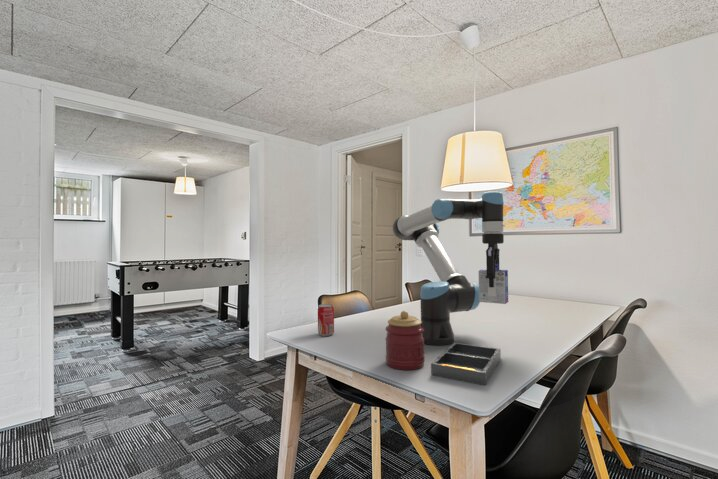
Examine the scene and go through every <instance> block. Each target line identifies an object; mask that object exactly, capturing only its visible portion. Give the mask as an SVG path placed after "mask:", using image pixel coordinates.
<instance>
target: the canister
mask: <svg viewBox="0 0 718 479" xmlns="http://www.w3.org/2000/svg"><path fill="white" fill-rule="evenodd" d="M387 323H388V325H387V326H386V327H385V332H386V337H385V361H386V366H389V367H391V368H393V369H395V370H402V371H411V370H416V369H420V368H423V367H424V365H425V344H424V337H423V331H424V328H423V327H422V326H421V325H420V324H421V323H422V322H421V319H419V318H418V317H417V316H414V315H409V313H408V312H407V311H406V310H402V311H401V312H400V315H394V316H392V317H391V318H389V319H388V320H387Z"/></svg>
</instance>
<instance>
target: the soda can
mask: <svg viewBox="0 0 718 479" xmlns="http://www.w3.org/2000/svg"><path fill="white" fill-rule="evenodd" d="M334 333H335V311H334V307H333V304H331V303H323V304H321V303H320V304H319V305H318V307H317V334H318V335H319V336H320V335H321V336H320V337H330V335H331V336H333V335H334Z"/></svg>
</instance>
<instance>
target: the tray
mask: <svg viewBox="0 0 718 479" xmlns="http://www.w3.org/2000/svg"><path fill="white" fill-rule="evenodd" d="M501 353H502V352H501V348H498V347H497V348H496V347H491V346H490V347H489V346H482V345H477V344H476V345H475V344H470V343H469V344H468V343H460V342H453V343H451V344H450V346H449V347H447V348H446V349H445V350H444V351H443V352H442V353H441V354H440V355H439V356H438V357H436V358H435V359H434V361H432V362H431V363H430V371H431V372H430V373H431V374H430V375H431V376H433V377H434V376H435V377H440V378H444V379H451V380H455V381H461V382H466V383H471V384H476V385H481V386H486V385H487V384H488V382H489V380H490V378H491V377H492V375H493V373H494V372H495V370H496V368H497V366H498V365H499V363H500V361H501V356H502V354H501Z"/></svg>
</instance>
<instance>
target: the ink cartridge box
mask: <svg viewBox="0 0 718 479" xmlns="http://www.w3.org/2000/svg"><path fill="white" fill-rule="evenodd" d="M495 266H497V267H495V278H496V296H488V278H485V276H486V275H487V269H479V270H478V287H479V302H480V303H489V304H501V305H506V304H508V303H509V273H508V272H509V271H508V269H500V263H499V264H495ZM498 267H499V268H498Z"/></svg>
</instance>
